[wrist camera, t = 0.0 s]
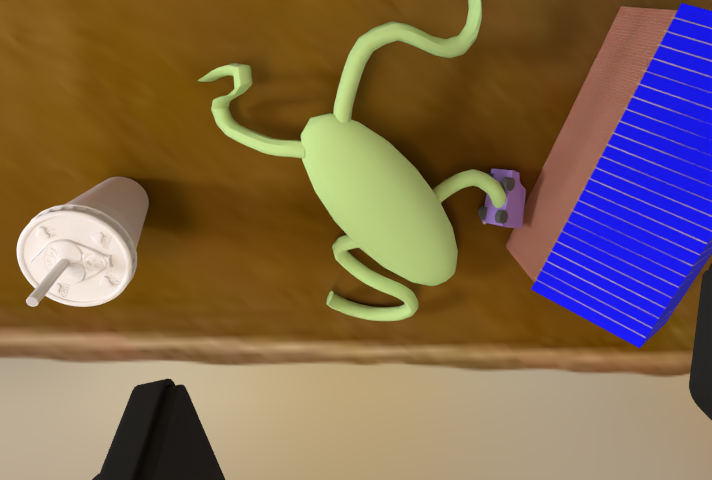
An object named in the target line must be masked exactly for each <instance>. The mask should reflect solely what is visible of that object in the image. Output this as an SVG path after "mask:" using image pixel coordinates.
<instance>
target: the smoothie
mask: <svg viewBox="0 0 712 480" xmlns="http://www.w3.org/2000/svg"><path fill="white" fill-rule="evenodd" d="M148 206H149V200H148V196H147V193H146V191H145V190H144V189H143V187H142V186H141V185H140V184H139V183H137V182H136V181H134V180H132V179H130V178H126V177H112V178H109V179H107V180H105V181H103V182H102V183H100V184H98V185H97V186H95V187H93V188H92V189H90V190H88V191H87V192H85V193H83V194H82V195H80V196H78V197H76V198H75V199H73V200H71V201H70V202H68V203H66V204H64V205H59V206H54V207H51V208H49V209H46V210H44V211H42V212H41V213H39V214H38V215H37V216H36V217H34V218H33V219H32V220H31V221H30V223H29V224H28V225H27V226H26V227H25V229H24V230H23V231H22V233H21V235H20V237H19V240H18V244H17V259H18V263H19V266H20V268H21V270H22V272H23V274H24V276H25V277H26V279H27V280H28V281H29V282H30V284H31V285H32V286H33V287H34V288H36V289H35V290H34V291H33V292H32V293H31V295H30V296H29V297H28V298H27V300H26V302H27V304H28V305H29V306H33V307H34V306H37V305H38V303H39V302H40V301H41V300H42V298H43V297H44V296H47V297H49V298H51V299H52V300H55V301H57V302H60V303H63V304H67V305H72V306H80V307H87V306H96V305H100V304H103V303H106V302H108V301H110V300H112V299H114V298H115V297H117V296H118V295H119V294H120V293H121V292H122V291H123V290H124V289H125V288H126V286H127V285H128V283H129V282H130V281H131V279H132V278H133V276H134V273H135V270H136V267H137V252H136V248H137V245H138V241H139V238H140V234H141V231H142V227H143V224H144V221H145V217H146V214H147V210H148Z"/></svg>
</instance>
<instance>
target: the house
mask: <svg viewBox="0 0 712 480" xmlns="http://www.w3.org/2000/svg"><path fill="white" fill-rule="evenodd" d="M505 247H506V248H507V249H508V251H509V252H510V253H511V254H512V256H513V257H514V258H515V259H516V261H517V262H518V263H519V264H520V266H521V267H522V268H523V269H524V271H525V272H526V273H527V274H528V276H529V277H530V278H531V279H532V281H533V282H534V285H533V287H532V290H533V291H535V292H537V293H539V294H541V295H543V296H545V297H546V298H548V299H550V300H552V301H554V302H556V303H557V304H559V305H561V306H563V307H565V308H567V309H569V310H570V311H572V312H574V313H576V314H578V315H580V316H582V317H583V318H585V319H587V320H589V321H591V322H593V323H594V324H596V325H598V326H600V327H602V328H604V329H606V330H607V331H609V332H611V333H613V334H615V335H617V336H618V337H620V338H622V339H624V340H626V341H628V342H630V343H631V344H633V345H635V346H637V347H639V348H640V347H641V346H642V345H643V344H644V343H645V342H646V341H647V340H648V339H650V338H651V337H652V336H653V335H654V334H655V333H656V332H657V331H658V330H659V329H660V328H661V327H662V326H663V325H664V324H665V323H666V322H667V320H668V319H669V317H670V316H671V314H672V313H673V311H674V310H675V308H676V307H677V305H678V304H679V302H680V301H681V299H682V298H683V296H684V295H685V293H686V292H687V290H688V289H689V287H690V286H691V284H692V283H693V281H694V280H695V278H696V277H697V275H698V273H699V272H700V270H701V269H702V267H703V266H704V264H705V263H706V261H707V260H708V258H709V257H710V255H711V254H712V11H709V10H705V9H702V8H698V7H694V6H691V5H687V4H683V3H681V5H680V7H679V9H678V10H665V9H651V8H637V7H624V6H621V7H620V10H619V12H618V14H617V16H616V18H615V20H614V22H613V24H612V26H611V28H610V30H609V32H608V34H607V36H606V38H605V40H604V43H603V45H602V47H601V49H600V51H599V53H598V55H597V57H596V59H595V61H594V63H593V65H592V67H591V69H590V71H589V73H588V76H587V78H586V80H585V82H584V84H583V86H582V88H581V90H580V92H579V94H578V96H577V98H576V100H575V102H574V104H573V106H572V109H571V111H570V113H569V115H568V117H567V119H566V121H565V123H564V125H563V127H562V129H561V131H560V133H559V135H558V137H557V139H556V142H555V144H554V146H553V148H552V150H551V152H550V154H549V156H548V158H547V160H546V162H545V164H544V166H543V168H542V170H541V173H540V175H539V177H538V179H537V181H536V183H535V185H534V187H533V189H532V191H531V193H530V195H529V197H528V199H527V201H526V203H525V206H524V214H523V224H522V229H519V228H513V230H512V232H511V234H510V236H509V239H508V241H507V243H506V245H505Z"/></svg>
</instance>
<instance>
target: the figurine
mask: <svg viewBox="0 0 712 480" xmlns="http://www.w3.org/2000/svg"><path fill="white" fill-rule="evenodd" d="M468 5H469V12H468V17H467V22H466V25H465V27H464V28H463V30H462V31H461V33H460V34H459V35H458V36H455V37H452V38H448V39H442V38H438V37H434V36H431V35H429V34H427V33H425V32H423V31H421V30H419V29H417V28H415V27H413V26H411V25H408V24H404V23H397V22H388V23H386V24H383V25H380V26H378V27H375V28H373V29H372V30H370V31H369V32H367V33H366V34H364V35H363V36H361V37H360V38H358V40H357V42H356V43H355V45H354V47H353V48H352V50H351V52H350V53H349V56H348V58H347V61H346V64H345V67H344V70H343V73H342V76H341V80H340V84H339V87H338V91H337V95H336V100H335V104H334V112H333V114H331V113H328V114H324V115H320V116H317V117H313V118H310V120H309V122H308V123H307V125H306V127H305V129H304V130H303V132H302V134H301V140H282V139H276V138H271V137H268V136H266V135H263V134H260V133H258V132H255V131H252V130H250V129H247V128H245V127H243V126H240V125H239V124H238V123H237V122H236V121H235V120H234V119H233V118H232V115H231V112H230V110H229V104H230V101H231V100H232V99H234V98H236V97H237V96H239V95H241V94H243V93H244V92H246V90H247V89H248V88H249V87H250V86H251V85H252V75H251V68H250V66H249V65H244V64H238V63H233V64H229V65H226V66H222V67H219V68H217V69H215V70H213V71H211V72H210V73H208V74H207V75H205V76H204V77H203V78H201V79H199V80H198V81H199V82H211V81H215V80H217V79H219V78H222V77H224V76H229V75H230V76H234V88H235V89H234V90H233V91H232V92H231V93H230V94H228V95H226V96H221V97H218V98H216V99H214V100H213V103H212V108H211V110H212V113H213V115H214V118H215V121H216V124H217V125H218V126H219V127H220V129H221V130H222V131H223V132H224V133H225V134H226V135H227V136H229V137H231V138H232V139H234V140H236V141H238V142H240V143H242V144H244V145H246V146H248V147H251V148H253V149H255V150H258V151H260V152H263V153H266V154H270V155H275V156H282V157H296V158H302V160H303V163H304V166H305V168H306V170H307V173H308V175H309V178H310V180H311V183H312V185H313V188H314V190H315V192H316V194H317V195H318V197H319V198H320V200H321V201H322V203H323V204H324V206H325V207H326V209H327V210H328V212H329V213H330V215H331V216H332V218H333V219H334V221H335V222H336V223H337V224H338V225H339V226H340V227H341V229H342V230H343V231H344V232H345V233H346V234H347V235H344V236H341V237H339V238H338V239H337V240H336V241H335V242H334V244H333V246H332V248H333V252H334V256H335V259H336V260H337V261H338V262H339V263H340V264H341V265H342V266H343V267H344V268H345V269H346V270H347V271H349V272H350V273H351V274H352V275H354V276H355V277H356V278H358V279H359V280H361V281H362V282H364V283H365V284H367V285H369V286H371V287H373V288H375V289H377V290H380V291H382V292H385V293H387V294H390V295H392V296H395V297H397V298H399V299H400V300H402V301H404V303H405V304H404V305H401V306H396V307H372V306H366V305H362V304H358V303H355V302H352V301H349V300H346V299H344V298H342V297H340V296H338V295H336V294H334V293H333V291H331V292H330V293H329V295H328V298H327V305H328V306H329V307H331V308H333V309H335V310H337V311H340V312H342V313H345V314H347V315H351V316H354V317H358V318H363V319H367V320H376V321H396V320H403V319H406V318H408V317H411V316H412V315H413V314H414V313H415V312H416V310H417V309H418V304H419V303H418V301H417V298H416V296H415V294H414V293H413V291H412V290H410V289H408V288H407V287H405V286H404V285H402V284H400V283H398V282H395V281H393V280H391V279H388V278H386V277H384V276H381V275H379V274H377V273H375V272H374V271H372V270H370V269H369V268H367V267H366V266H364V265H363V264H362V263H360V262H359V261H358V260H357V259H356V258H355V257H353V256H352V255H351V254H350V253H349V252H348V250H350V249H354V248H360V249H362V250H363V251H364V252H365V253H367V254H368V255H369V256H370V257H372V258H373V259H374V260H375V261H377V262H378V263H379V264H380V265H382V266H383V267H384V268H386V269H388V270H390V271H392V272H394V273H396V274H398V275H399V276H401V277H403V278H405V279H407V280H409V281H411V282H413V283H418V284H423V285H428V286H435V285H438V284H441V283H443V282H446V281H447V280H448V279H449V278H450V277H451V276H452V275H453V274H454V273H455V270H456V263H457V256H458V249H457V245H456V241H455V236H454V232H453V228H452V225H451V223H450V221H449V219H448V217H447V215H446V213H445V211H444V209H443V207H442V205H441V203H442V201H444V200H445V199H446V198H448V197H449V196H450V195H452V194H453V193H455V192H457V191H459V190H460V189H462V188H465V187H469V186H476V187H479V188H480V189H482V190H483V191H485V192H486V193H487V194H486V200H485V205H484V207H481V208H480V209H479V212H478V215H479V218H480V219H482V221H481V222H483V224H486V223H490V224H494V225H499V226H504V227H510V228H519V229H522V224H523V214H524V205H525V196H526V189H525V188H524V187H523V186H522V185H521V183H520V176H519V172H516V171H515V170H503V169H491V173H488V174H486V173H485V172H482V171H478V170H474V169H472V170H468V171H464V172H461V173H457V174H455V175H453V176H452V177H450V178H448V179H446V180H445V181H443V182H442V183H441V184H439V185H438V186H436V187H435V188H434V189H433V190H432V189H431V188H430V186H429V185H428V184H427V182H426V181H425V180H424V178H423V177H422V176H421V174H420V173H419V171H418V170H417V169H416V168H415V167H414V166H413V165H412V164H411V163H410V162H409V161H408V160H407V159H406V158H405V157H404V156H403V155H402V154H401V153H400V152H399V151H398V150H397V149H396V148H395V147H394V146H393V145H392V144H391V143H390V142H388V141H387V140H385V139H384V138H382V137H381V136H379V135H378V134H376V133H375V132H373V131H372V130H370V129H369V128H367V127H365V126H364V125H362V124H361V123H359V122H357V121H354V120H351V116H352V108H353V104H354V100H355V96H356V92H357V89H358V85H359V82H360V78H361V75H362V73H363V70H364V67H365V64H366V62H367V61H368V59H369V57H370V56H371V54H372V53H373V51H375V50H376V49H378V48H380V47H382V46H383V45H385V44H388V43H391V42H394V41H397V40H398V41H401V42H404V43H408V44H411V45H413V46H415V47H417V48H420V49H422V50H424V51H426V52H429V53H431V54H433V55H435V56H441V57H446V58H453V57H456V56H459V55H462V54H465V53H466V51H467V50H468V49H469V48H470V46H471V45H472V44H473V43H474V42H475V40H476V38H477V35H478V31H479V27H480V23H481V19H482V5H481V0H468Z"/></svg>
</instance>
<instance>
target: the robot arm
mask: <svg viewBox="0 0 712 480" xmlns="http://www.w3.org/2000/svg"><path fill="white" fill-rule="evenodd" d="M689 389H690V393H691V396H692V398H693V400H694V401H695V403H696V404H697V405H698V407H699V408H700V409H701V410H702V411H703V412H704V413H705V414H706V415H707V416H708V417H709V418H710V419H711V420H712V264H711V265H710V268H709V270H707V271H705V273H704V274H703V277H702V284H701V292H700V300H699V308H698V316H697V325H696V333H695V341H694V349H693V357H692V365H691V373H690V381H689ZM92 480H225V478H224V476H223V473H222V471H221V469H220V467H219V464H218V462H217V459H216V457H215V455H214V452H213V450H212V448H211V445H210V443H209V441H208V438H207V436H206V434H205V431H204V429H203V427H202V424H201V422H200V420H199V417H198V415H197V413H196V410H195V408H194V406H193V403H192V401H191V399H190V396H189V394H188V392H187V390H186V388H185V386H184V385H176V386H175V384H174V382H173V381H172V380H171V379H165V380H160V381H155V382H151V383H146V384H141V385H137V386H136V387H134V389H133V391H132V393H131V396H130V399H129V401H128V403H127V406H126V408H125V411H124V414H123V416H122V419H121V421H120V424H119V426H118V429H117V431H116V434H115V436H114V439H113V441H112V444H111V447H110V449H109V452H108V454H107V457H106V459H105V462H104V464H103V467H102V469H101V472H100V474H98V475H97V476H96V477H94V478H93V479H92Z"/></svg>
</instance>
